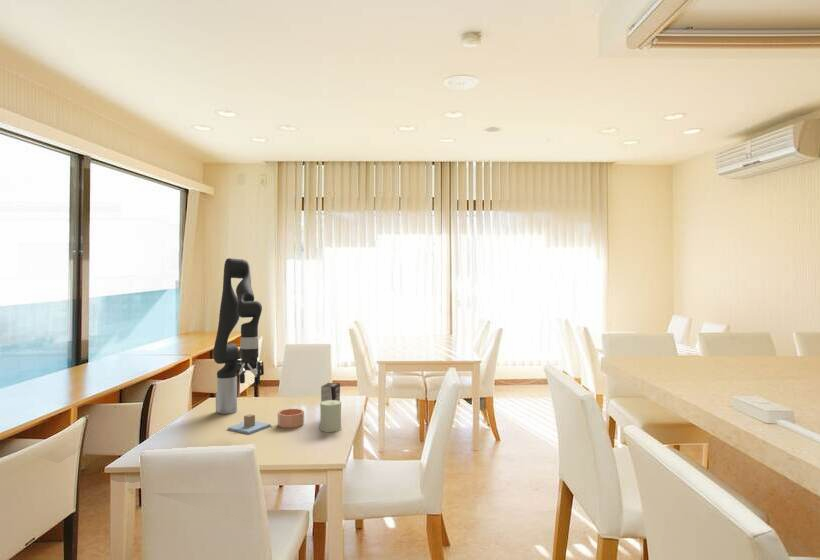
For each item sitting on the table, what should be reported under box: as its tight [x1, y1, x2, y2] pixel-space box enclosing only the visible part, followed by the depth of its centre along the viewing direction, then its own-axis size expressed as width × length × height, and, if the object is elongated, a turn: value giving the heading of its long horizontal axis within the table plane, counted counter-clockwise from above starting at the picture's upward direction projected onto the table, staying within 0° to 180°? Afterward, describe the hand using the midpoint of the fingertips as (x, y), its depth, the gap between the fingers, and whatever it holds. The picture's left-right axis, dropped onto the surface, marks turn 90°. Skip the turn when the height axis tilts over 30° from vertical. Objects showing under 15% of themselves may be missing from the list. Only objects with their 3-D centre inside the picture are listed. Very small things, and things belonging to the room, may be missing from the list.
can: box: [319, 400, 342, 433], centre depth 224 cm, size 9×9×12 cm
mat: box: [226, 425, 273, 436], centre depth 224 cm, size 14×14×1 cm
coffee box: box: [320, 382, 341, 403], centre depth 239 cm, size 9×6×16 cm
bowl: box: [277, 408, 305, 429], centre depth 229 cm, size 11×11×6 cm
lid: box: [227, 413, 272, 435], centre depth 224 cm, size 12×12×6 cm
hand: (249, 384), depth 224 cm, fingers open, 8 cm apart
